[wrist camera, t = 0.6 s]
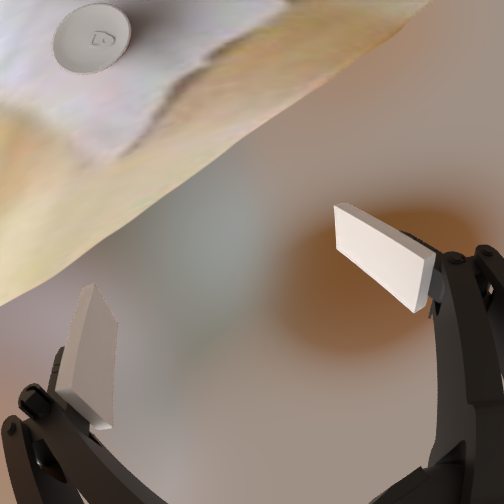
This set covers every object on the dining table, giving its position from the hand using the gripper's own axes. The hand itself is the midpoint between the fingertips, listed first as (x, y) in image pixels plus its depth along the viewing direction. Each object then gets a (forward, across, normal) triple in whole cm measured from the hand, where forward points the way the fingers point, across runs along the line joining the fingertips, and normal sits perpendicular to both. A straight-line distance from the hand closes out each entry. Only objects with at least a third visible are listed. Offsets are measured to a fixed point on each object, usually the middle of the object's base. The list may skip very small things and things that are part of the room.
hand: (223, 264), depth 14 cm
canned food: (+25, -6, +22) cm, 34 cm away
